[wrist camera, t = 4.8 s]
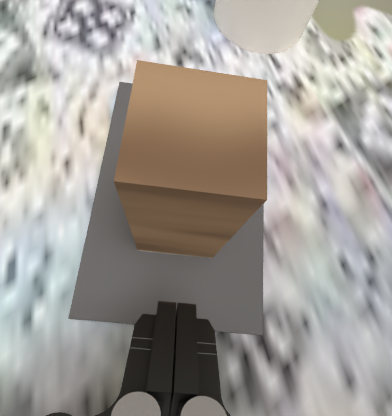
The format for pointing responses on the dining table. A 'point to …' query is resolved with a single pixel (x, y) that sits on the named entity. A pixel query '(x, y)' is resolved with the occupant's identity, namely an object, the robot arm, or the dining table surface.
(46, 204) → the dining table surface
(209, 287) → the rubber mat
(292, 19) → the cylinder with rectangular tab
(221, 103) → the walnut block
